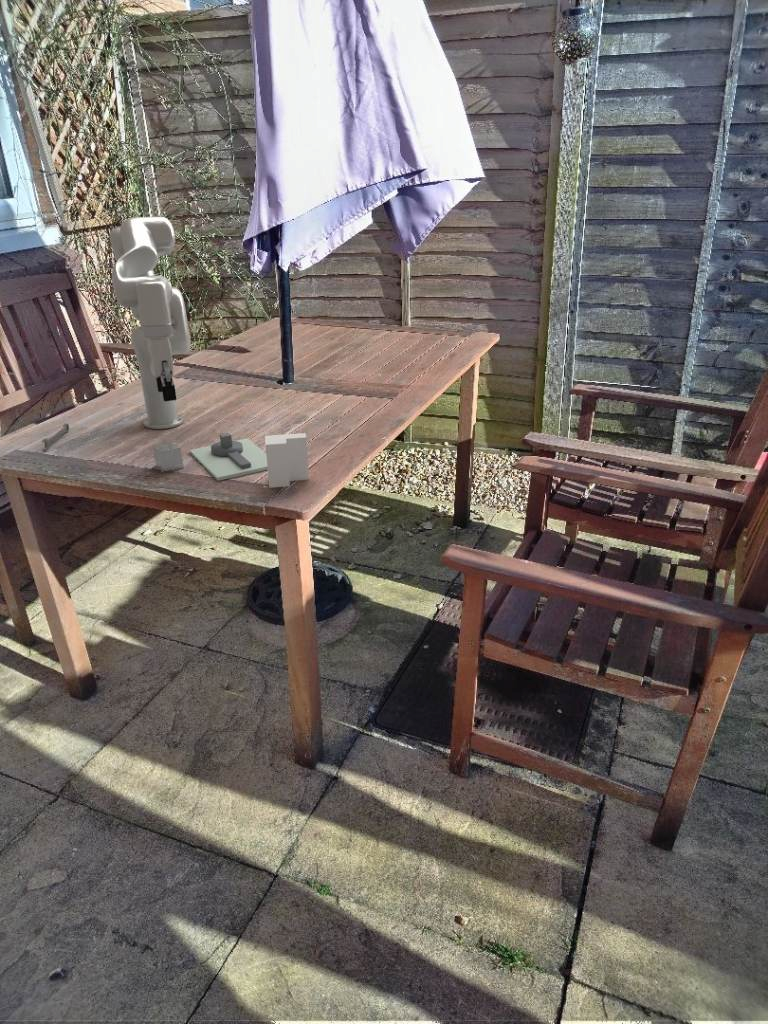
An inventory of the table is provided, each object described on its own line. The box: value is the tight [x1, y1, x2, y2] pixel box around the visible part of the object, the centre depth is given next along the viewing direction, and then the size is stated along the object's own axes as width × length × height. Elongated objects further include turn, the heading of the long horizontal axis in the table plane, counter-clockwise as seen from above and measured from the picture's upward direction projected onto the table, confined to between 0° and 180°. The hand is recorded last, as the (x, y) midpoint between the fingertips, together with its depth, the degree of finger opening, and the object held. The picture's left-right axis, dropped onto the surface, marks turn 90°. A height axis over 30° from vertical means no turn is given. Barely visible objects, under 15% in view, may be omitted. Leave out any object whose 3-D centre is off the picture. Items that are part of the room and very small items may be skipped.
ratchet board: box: [189, 432, 268, 482], centre depth 201 cm, size 24×18×6 cm
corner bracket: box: [264, 432, 310, 488], centre depth 188 cm, size 11×11×12 cm
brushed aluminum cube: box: [152, 441, 184, 473], centre depth 197 cm, size 6×6×6 cm
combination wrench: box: [41, 423, 70, 452], centre depth 217 cm, size 4×1×20 cm
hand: (167, 395), depth 188 cm, fingers open, 9 cm apart
